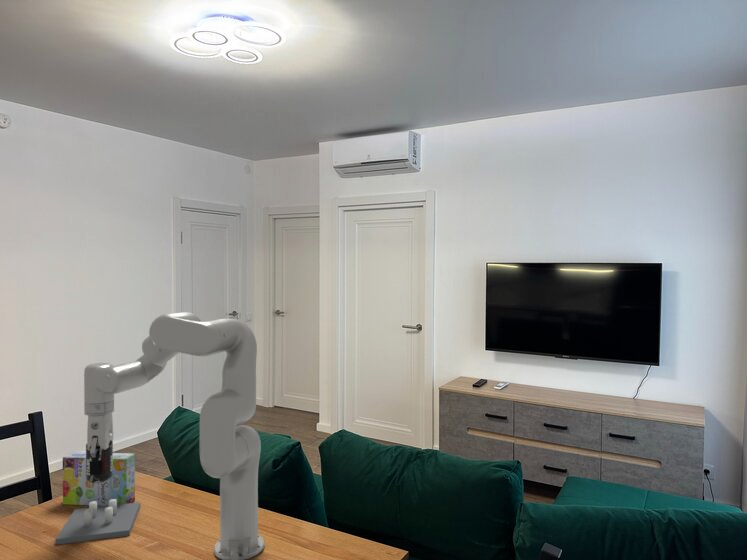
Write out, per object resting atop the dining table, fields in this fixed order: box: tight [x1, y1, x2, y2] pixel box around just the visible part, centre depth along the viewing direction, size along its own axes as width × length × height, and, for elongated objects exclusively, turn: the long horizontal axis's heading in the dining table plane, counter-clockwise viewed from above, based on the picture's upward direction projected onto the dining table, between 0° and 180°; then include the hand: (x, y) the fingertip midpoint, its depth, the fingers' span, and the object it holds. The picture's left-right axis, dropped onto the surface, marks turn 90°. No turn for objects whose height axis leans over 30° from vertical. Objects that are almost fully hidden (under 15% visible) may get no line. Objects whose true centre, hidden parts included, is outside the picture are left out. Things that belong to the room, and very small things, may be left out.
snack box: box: [62, 451, 136, 507], centre depth 163 cm, size 21×6×15 cm, turn 84°
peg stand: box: [54, 499, 141, 545], centre depth 149 cm, size 18×18×6 cm
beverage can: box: [85, 440, 114, 483], centre depth 149 cm, size 7×7×12 cm
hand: (99, 469), depth 149 cm, fingers closed on beverage can, 6 cm apart
